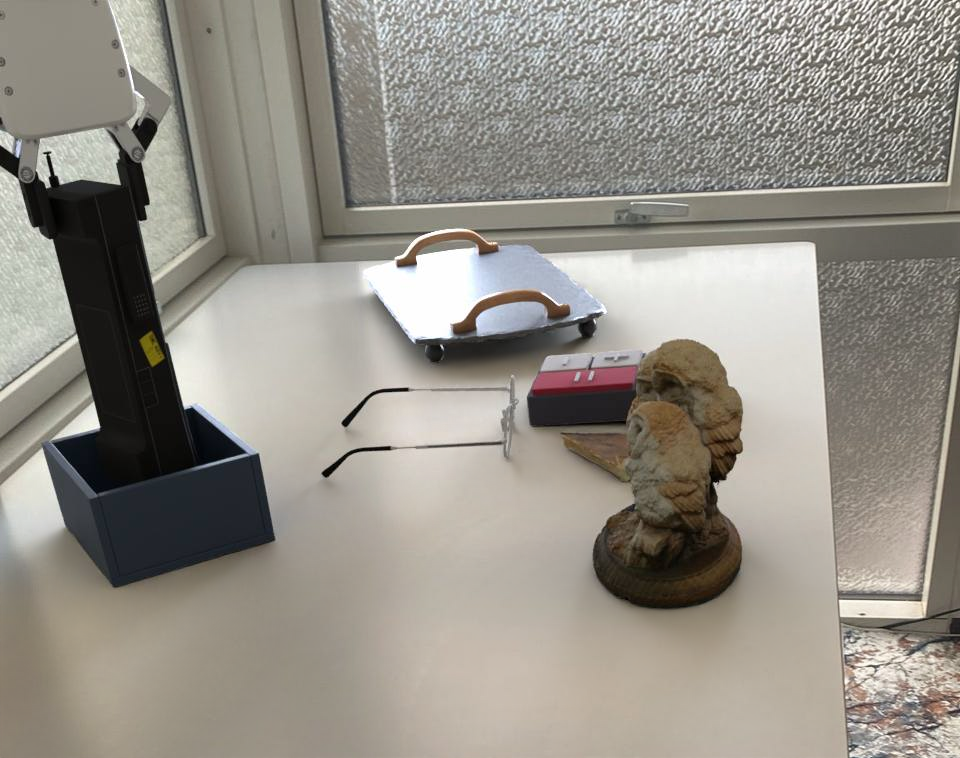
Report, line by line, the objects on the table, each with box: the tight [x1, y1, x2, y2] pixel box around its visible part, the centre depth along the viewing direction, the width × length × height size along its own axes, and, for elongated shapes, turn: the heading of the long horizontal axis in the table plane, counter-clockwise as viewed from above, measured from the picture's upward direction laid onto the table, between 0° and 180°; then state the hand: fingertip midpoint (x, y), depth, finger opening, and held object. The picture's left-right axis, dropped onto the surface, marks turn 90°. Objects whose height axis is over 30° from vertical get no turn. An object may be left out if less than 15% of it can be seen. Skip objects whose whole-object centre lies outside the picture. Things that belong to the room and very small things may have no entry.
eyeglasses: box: [320, 374, 520, 479], centre depth 128 cm, size 16×19×5 cm
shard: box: [559, 431, 631, 483], centre depth 124 cm, size 11×8×2 cm
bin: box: [40, 403, 276, 588], centre depth 116 cm, size 15×16×8 cm
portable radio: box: [42, 150, 198, 484], centre depth 108 cm, size 8×6×25 cm
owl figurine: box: [592, 338, 744, 609], centre depth 102 cm, size 18×12×17 cm, turn 176°
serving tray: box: [362, 228, 607, 363], centre depth 161 cm, size 39×23×6 cm, turn 15°
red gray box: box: [526, 348, 654, 427], centre depth 133 cm, size 11×4×15 cm
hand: (93, 224), depth 103 cm, fingers closed on portable radio, 6 cm apart
